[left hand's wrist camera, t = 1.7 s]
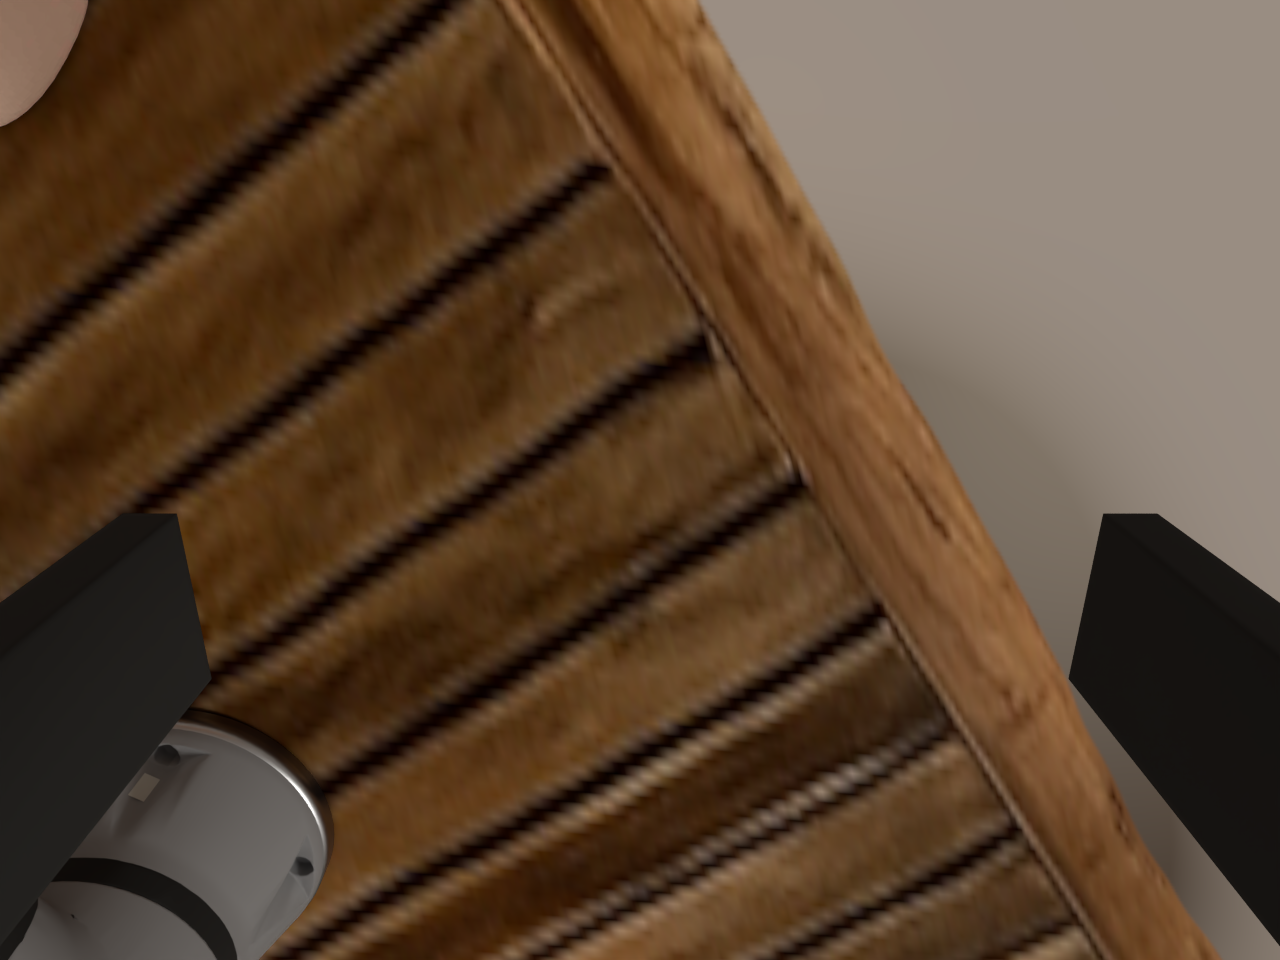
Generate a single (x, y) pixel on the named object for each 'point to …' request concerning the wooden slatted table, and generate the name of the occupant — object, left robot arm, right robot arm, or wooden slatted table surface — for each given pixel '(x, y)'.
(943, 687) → the wooden slatted table surface
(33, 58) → the anatomical model
